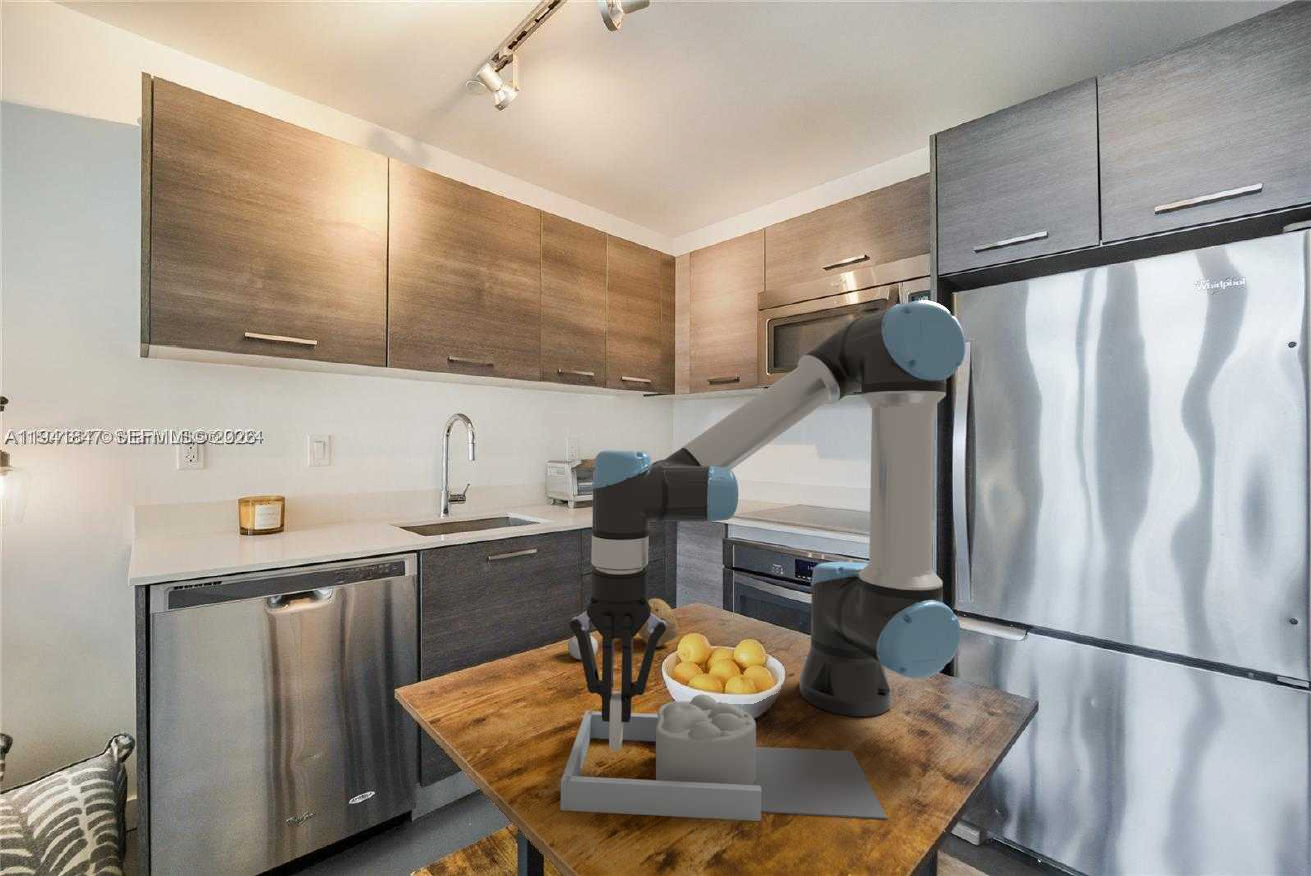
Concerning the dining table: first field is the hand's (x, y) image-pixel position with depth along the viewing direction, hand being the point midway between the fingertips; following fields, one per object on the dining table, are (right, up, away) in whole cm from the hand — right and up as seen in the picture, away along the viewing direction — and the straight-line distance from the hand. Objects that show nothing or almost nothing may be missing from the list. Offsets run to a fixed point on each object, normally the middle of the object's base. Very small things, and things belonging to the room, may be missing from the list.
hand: (615, 744), depth 75 cm
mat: (+24, -4, -1) cm, 25 cm away
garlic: (-9, -3, +37) cm, 39 cm away
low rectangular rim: (+6, -4, 0) cm, 7 cm away
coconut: (+5, -4, +45) cm, 45 cm away
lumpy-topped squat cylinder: (+12, -4, -1) cm, 13 cm away
